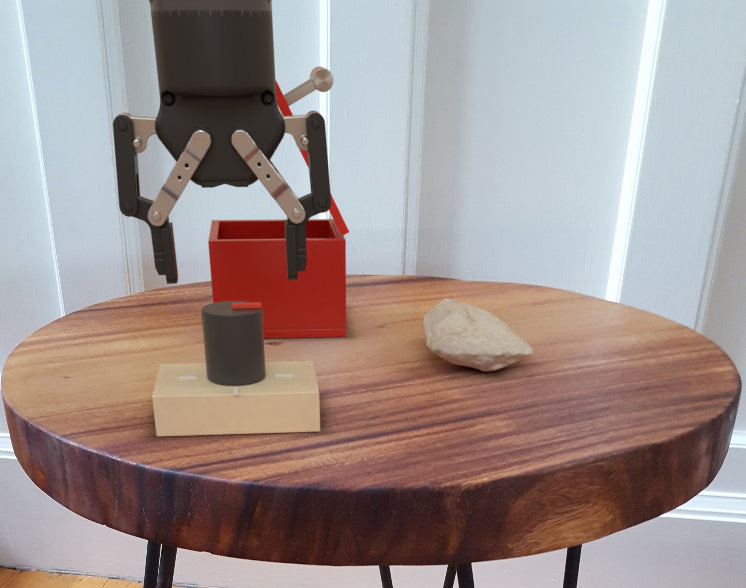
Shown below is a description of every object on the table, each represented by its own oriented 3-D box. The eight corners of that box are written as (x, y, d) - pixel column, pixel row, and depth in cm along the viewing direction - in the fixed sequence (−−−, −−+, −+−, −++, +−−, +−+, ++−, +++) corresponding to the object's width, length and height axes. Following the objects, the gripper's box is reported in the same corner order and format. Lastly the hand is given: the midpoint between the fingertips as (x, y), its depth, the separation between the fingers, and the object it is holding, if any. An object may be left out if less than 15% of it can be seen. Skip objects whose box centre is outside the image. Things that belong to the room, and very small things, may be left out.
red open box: (216, 339, 92) (208, 241, 87) (218, 310, 101) (211, 220, 97) (346, 336, 93) (345, 239, 88) (336, 308, 103) (335, 219, 98)
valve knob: (206, 386, 70) (199, 311, 67) (208, 368, 74) (201, 297, 71) (266, 384, 70) (262, 310, 68) (265, 367, 74) (261, 296, 71)
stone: (433, 381, 81) (436, 321, 79) (409, 339, 92) (410, 285, 90) (539, 378, 82) (545, 318, 80) (502, 337, 93) (506, 283, 91)
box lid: (268, 85, 81) (324, 51, 80) (265, 79, 91) (315, 49, 90) (341, 236, 88) (393, 206, 87) (332, 216, 98) (378, 189, 97)
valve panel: (156, 438, 70) (151, 395, 68) (164, 400, 77) (159, 360, 75) (320, 433, 71) (319, 390, 69) (313, 396, 78) (312, 357, 76)
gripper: (321, 6, 63) (327, 267, 72) (101, 6, 62) (136, 271, 71) (330, 4, 57) (336, 289, 66) (86, 3, 56) (126, 294, 65)
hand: (232, 280), depth 68 cm, fingers open, 8 cm apart
